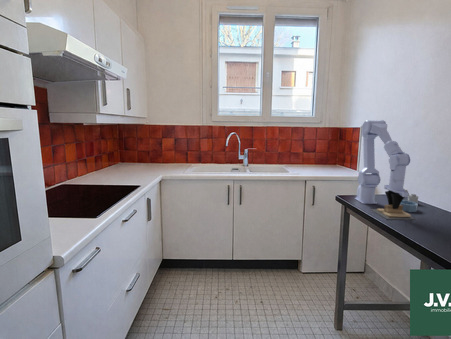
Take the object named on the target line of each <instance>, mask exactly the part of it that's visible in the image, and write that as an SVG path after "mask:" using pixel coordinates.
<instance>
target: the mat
mask: <svg viewBox="0 0 451 339" xmlns="http://www.w3.org/2000/svg"><path fill="white" fill-rule="evenodd" d="M377 209H378V208H371V210H370V211H372V212H374V213H375V214H377V215H378V216H380V217H382V218H383V219H385V220H392V221H393V220H394V221H395V220H398V221H400V220H401V221H402V220H405V221H407V220H408V221H409V220H411V221H416V220H417V219H416V218H415V217H412V216H411V217H387V216H385V215H384V214H382V213H380V212H379V211H377Z"/></svg>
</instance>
